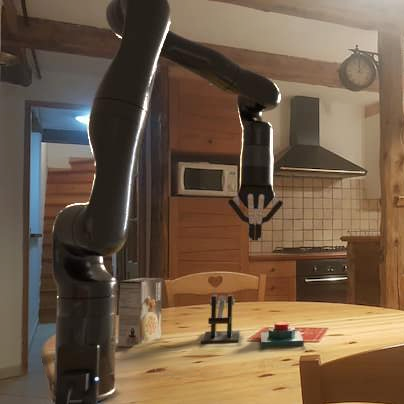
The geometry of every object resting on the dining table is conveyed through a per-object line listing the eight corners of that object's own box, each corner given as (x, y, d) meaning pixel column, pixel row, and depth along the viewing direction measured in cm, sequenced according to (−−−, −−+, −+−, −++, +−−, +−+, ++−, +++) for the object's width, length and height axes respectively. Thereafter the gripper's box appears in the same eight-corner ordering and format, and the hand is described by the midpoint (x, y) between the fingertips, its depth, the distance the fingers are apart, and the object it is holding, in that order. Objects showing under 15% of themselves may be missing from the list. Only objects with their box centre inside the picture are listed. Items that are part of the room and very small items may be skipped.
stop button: (289, 331, 129) (289, 324, 129) (274, 332, 128) (274, 324, 128) (288, 328, 132) (288, 321, 132) (274, 329, 132) (274, 322, 132)
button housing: (303, 349, 125) (303, 332, 125) (261, 351, 123) (261, 334, 123) (299, 339, 137) (299, 324, 137) (260, 340, 135) (261, 325, 135)
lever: (229, 326, 125) (229, 317, 124) (208, 327, 124) (208, 317, 124) (232, 303, 137) (232, 295, 136) (212, 304, 136) (212, 295, 135)
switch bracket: (238, 345, 129) (239, 297, 130) (200, 347, 127) (201, 298, 128) (240, 336, 141) (240, 292, 141) (205, 337, 139) (206, 292, 140)
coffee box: (139, 338, 136) (141, 277, 137) (161, 340, 135) (163, 277, 136) (116, 346, 127) (118, 280, 128) (140, 347, 126) (141, 281, 127)
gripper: (226, 163, 117) (224, 240, 115) (286, 165, 119) (284, 241, 118) (228, 167, 124) (226, 240, 123) (284, 169, 126) (282, 240, 125)
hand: (254, 240), depth 120 cm, fingers closed
